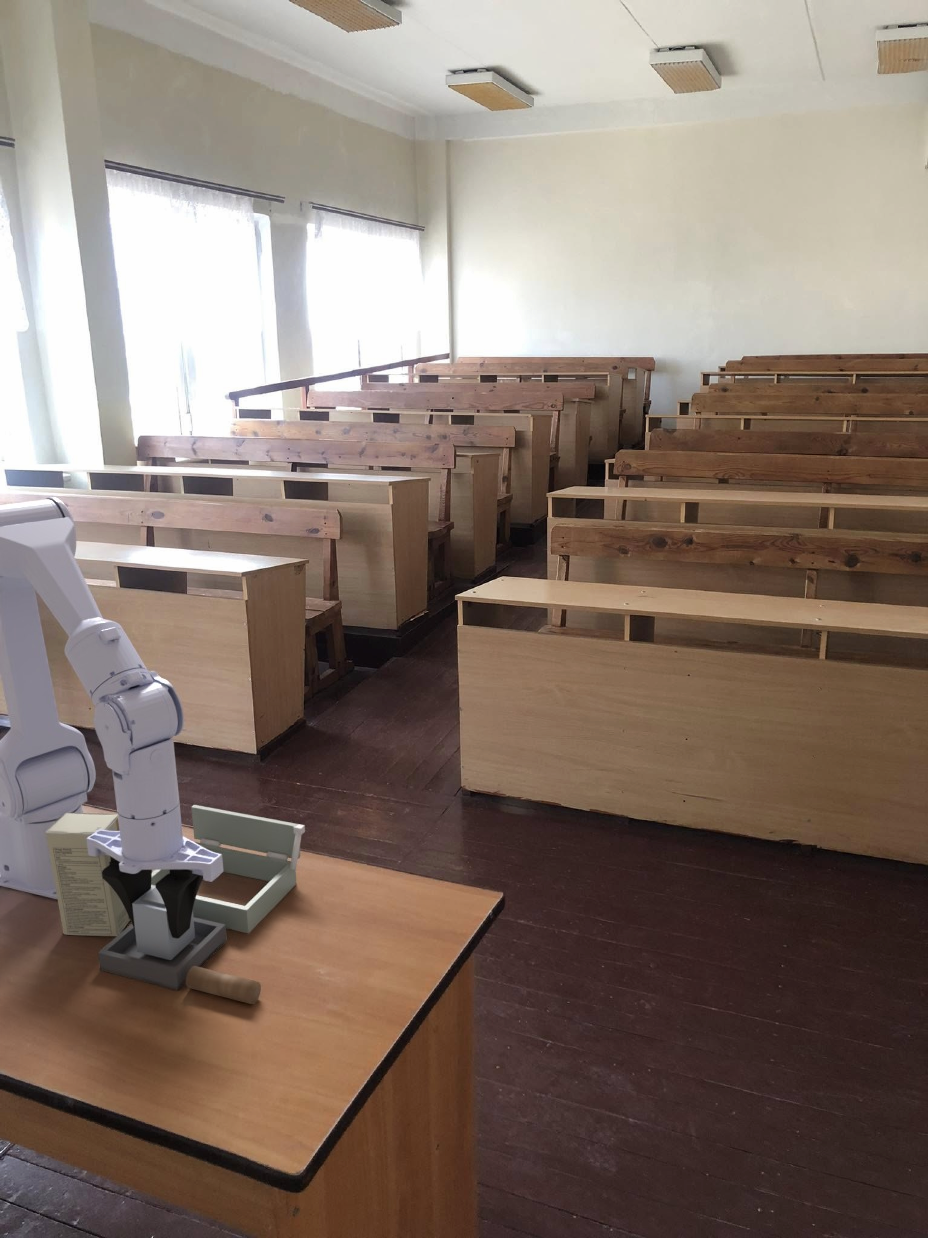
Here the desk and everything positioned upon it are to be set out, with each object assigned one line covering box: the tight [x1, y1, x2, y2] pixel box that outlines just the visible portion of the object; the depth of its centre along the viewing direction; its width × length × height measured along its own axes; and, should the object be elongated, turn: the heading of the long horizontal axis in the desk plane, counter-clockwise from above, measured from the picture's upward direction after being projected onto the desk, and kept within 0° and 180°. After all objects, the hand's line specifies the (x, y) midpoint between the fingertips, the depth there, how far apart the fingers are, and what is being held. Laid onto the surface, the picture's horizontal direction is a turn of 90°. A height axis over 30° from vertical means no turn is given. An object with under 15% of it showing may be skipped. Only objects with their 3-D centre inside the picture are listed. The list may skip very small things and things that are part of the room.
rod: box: [185, 966, 262, 1005], centre depth 89 cm, size 7×2×2 cm, turn 70°
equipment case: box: [151, 804, 306, 934], centre depth 104 cm, size 15×11×7 cm
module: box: [132, 886, 195, 960], centre depth 94 cm, size 4×4×6 cm
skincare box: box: [46, 812, 131, 937], centre depth 98 cm, size 6×4×12 cm
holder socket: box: [97, 917, 228, 991], centre depth 94 cm, size 9×8×2 cm
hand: (161, 928), depth 94 cm, fingers closed on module, 4 cm apart
